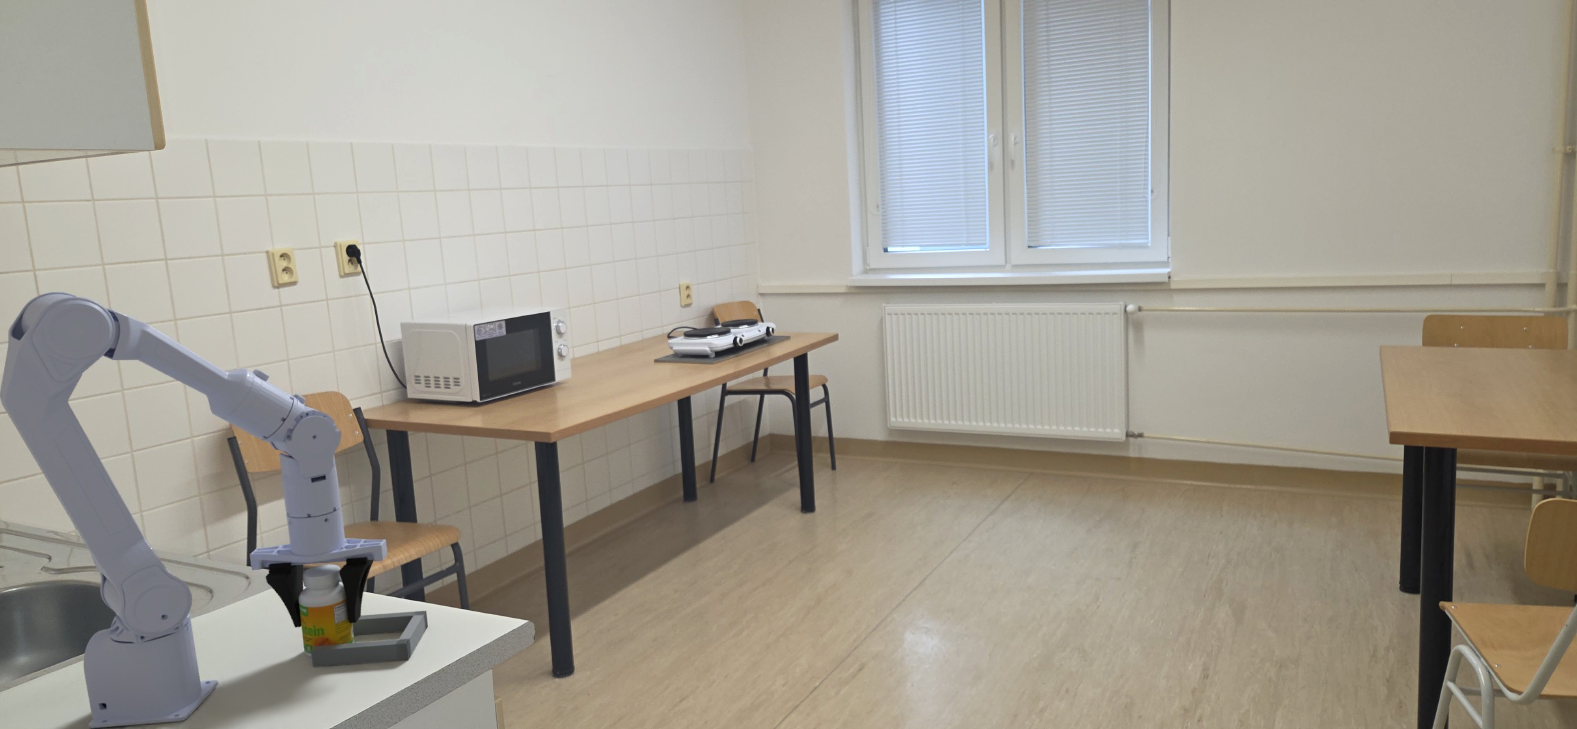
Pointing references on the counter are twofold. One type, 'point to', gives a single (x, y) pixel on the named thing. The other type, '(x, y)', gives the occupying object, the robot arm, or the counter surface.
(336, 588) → the supplement bottle
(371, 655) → the gray u-shaped bracket
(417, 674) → the counter surface
